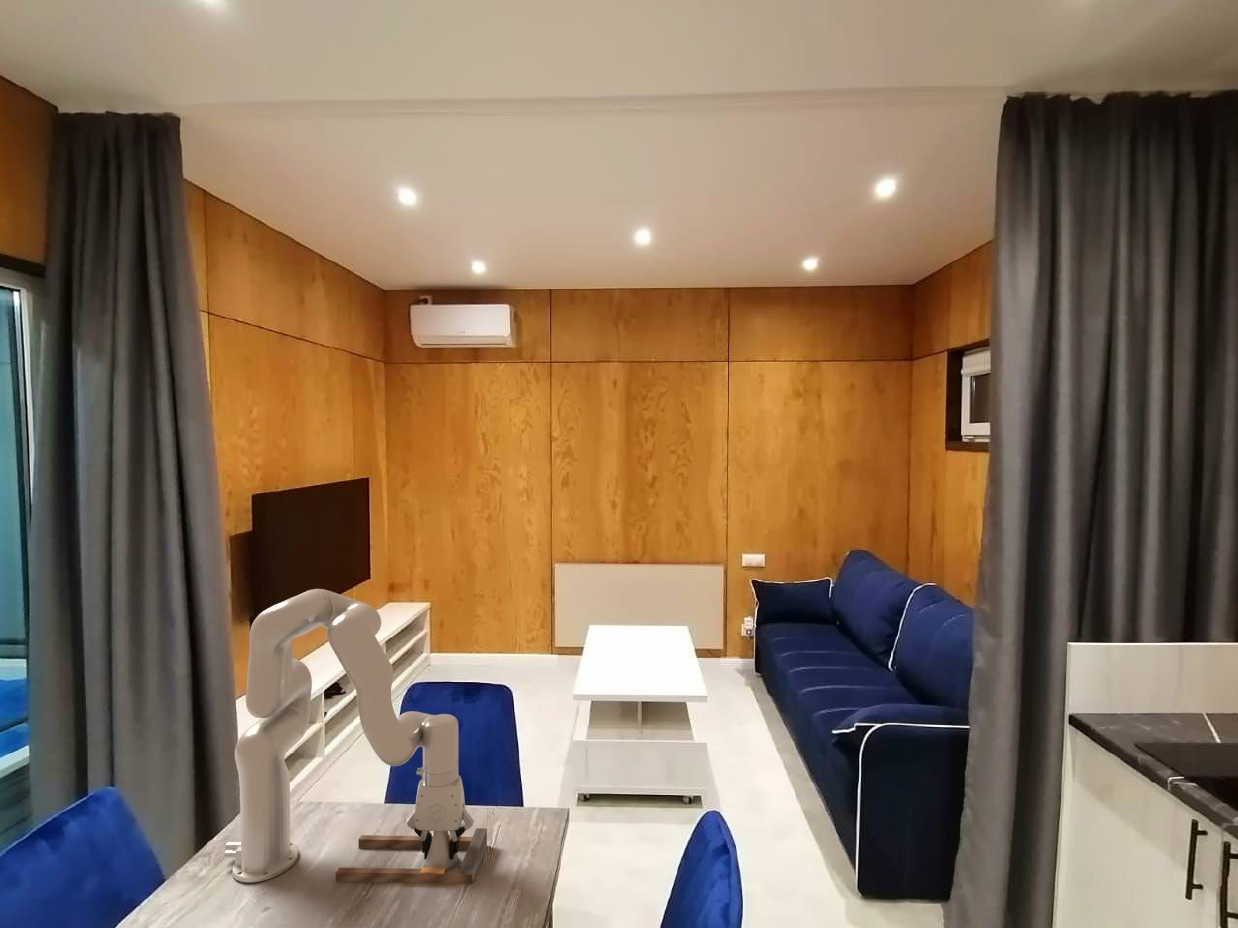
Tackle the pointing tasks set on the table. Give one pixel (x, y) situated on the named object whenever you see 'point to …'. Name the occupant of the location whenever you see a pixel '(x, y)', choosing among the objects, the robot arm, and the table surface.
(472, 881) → the guide channel
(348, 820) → the table surface
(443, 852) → the flask
